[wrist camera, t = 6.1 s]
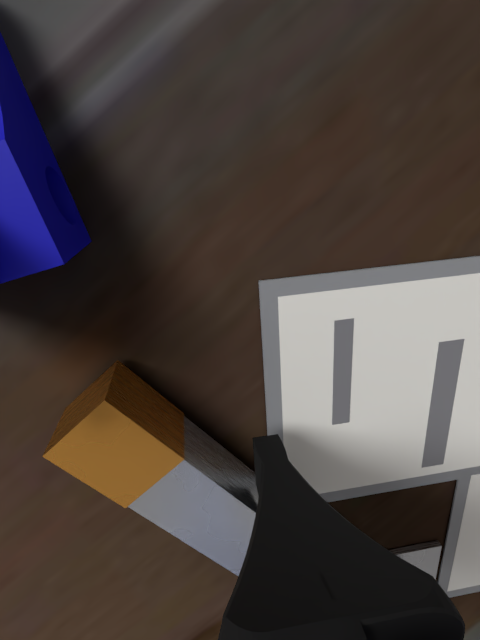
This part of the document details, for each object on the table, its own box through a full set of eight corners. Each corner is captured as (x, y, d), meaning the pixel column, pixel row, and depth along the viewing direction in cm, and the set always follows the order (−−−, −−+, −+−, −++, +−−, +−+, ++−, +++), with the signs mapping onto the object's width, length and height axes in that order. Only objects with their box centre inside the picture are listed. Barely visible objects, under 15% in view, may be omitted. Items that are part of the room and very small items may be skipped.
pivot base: (424, 617, 21) (427, 622, 21) (318, 639, 20) (320, 646, 20) (437, 540, 19) (441, 545, 18) (319, 563, 18) (320, 569, 18)
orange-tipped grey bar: (430, 593, 20) (460, 645, 17) (368, 634, 20) (390, 689, 18) (134, 345, 12) (124, 382, 10) (50, 421, 13) (24, 472, 11)
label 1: (492, 471, 17) (494, 473, 17) (271, 510, 16) (272, 512, 16) (544, 248, 13) (547, 248, 13) (258, 280, 12) (259, 281, 12)
